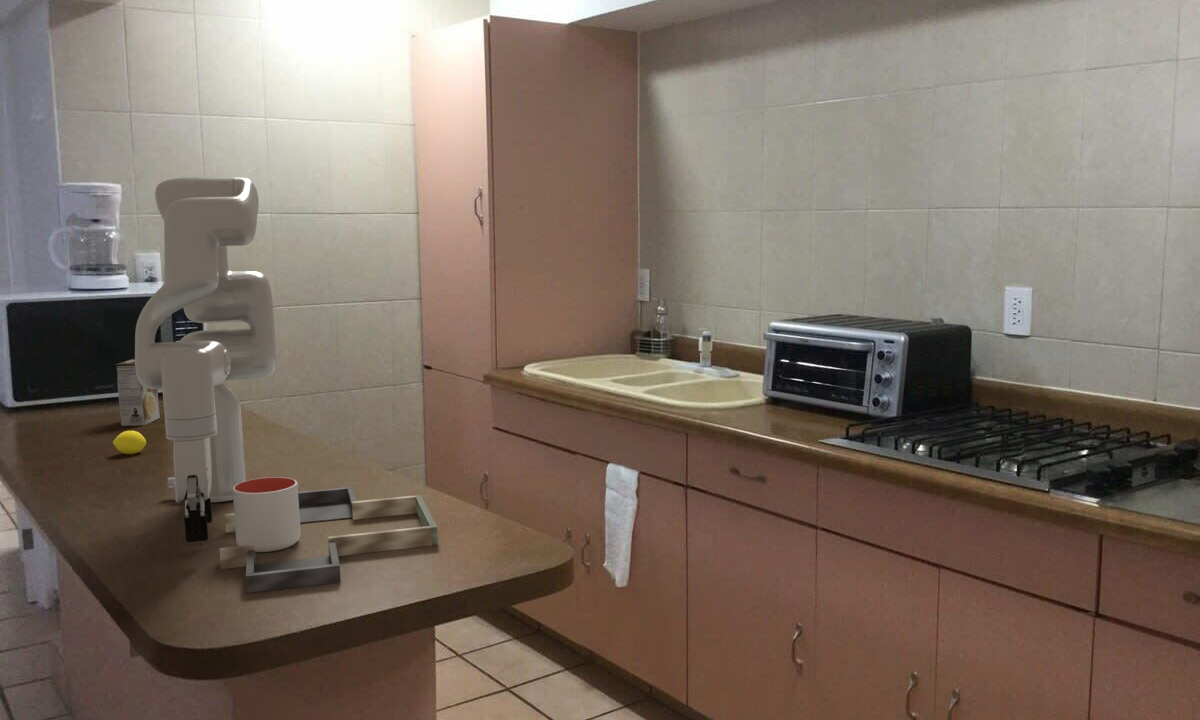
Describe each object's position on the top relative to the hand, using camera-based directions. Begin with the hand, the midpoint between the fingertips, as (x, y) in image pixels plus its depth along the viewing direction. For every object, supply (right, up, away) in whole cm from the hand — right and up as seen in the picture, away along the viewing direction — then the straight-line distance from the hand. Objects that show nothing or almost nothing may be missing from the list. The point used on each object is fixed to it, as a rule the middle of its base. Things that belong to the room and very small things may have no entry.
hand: (199, 531), depth 169 cm
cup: (+10, -3, +4) cm, 11 cm away
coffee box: (-55, +11, +105) cm, 119 cm away
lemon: (-42, +6, +70) cm, 81 cm away
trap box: (+19, -2, +6) cm, 20 cm away
